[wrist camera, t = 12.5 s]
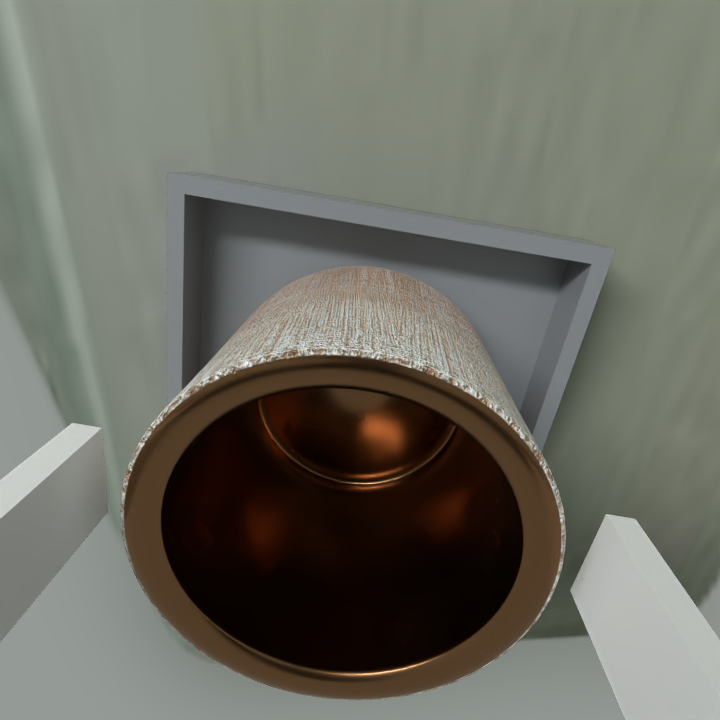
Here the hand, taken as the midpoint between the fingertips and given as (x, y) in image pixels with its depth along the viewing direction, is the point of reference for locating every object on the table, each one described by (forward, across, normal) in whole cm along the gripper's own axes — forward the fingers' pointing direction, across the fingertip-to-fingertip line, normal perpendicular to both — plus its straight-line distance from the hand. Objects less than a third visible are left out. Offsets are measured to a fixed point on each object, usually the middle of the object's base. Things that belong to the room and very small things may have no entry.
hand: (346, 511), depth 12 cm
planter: (+8, 0, 0) cm, 9 cm away
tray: (+9, 0, 0) cm, 9 cm away
